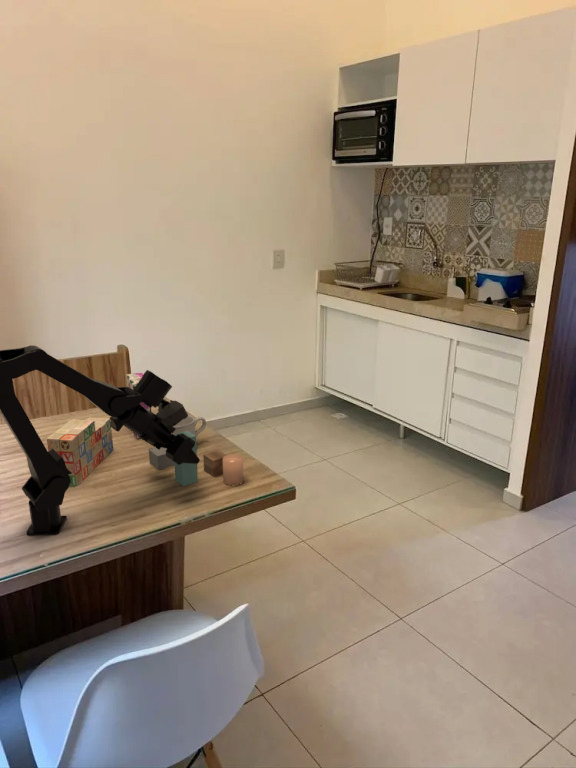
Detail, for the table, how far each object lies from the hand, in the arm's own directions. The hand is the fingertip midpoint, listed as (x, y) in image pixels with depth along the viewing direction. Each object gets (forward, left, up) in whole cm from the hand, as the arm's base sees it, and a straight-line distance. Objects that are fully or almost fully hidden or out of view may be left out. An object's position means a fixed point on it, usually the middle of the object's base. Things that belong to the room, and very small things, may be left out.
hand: (188, 455), depth 139 cm
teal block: (-1, +1, -7) cm, 7 cm away
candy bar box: (+31, +17, -7) cm, 36 cm away
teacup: (+20, +4, -7) cm, 22 cm away
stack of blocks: (+9, +27, -7) cm, 30 cm away
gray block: (+9, +8, -7) cm, 14 cm away
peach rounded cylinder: (-1, -11, -7) cm, 13 cm away
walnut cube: (+4, -6, -7) cm, 10 cm away
